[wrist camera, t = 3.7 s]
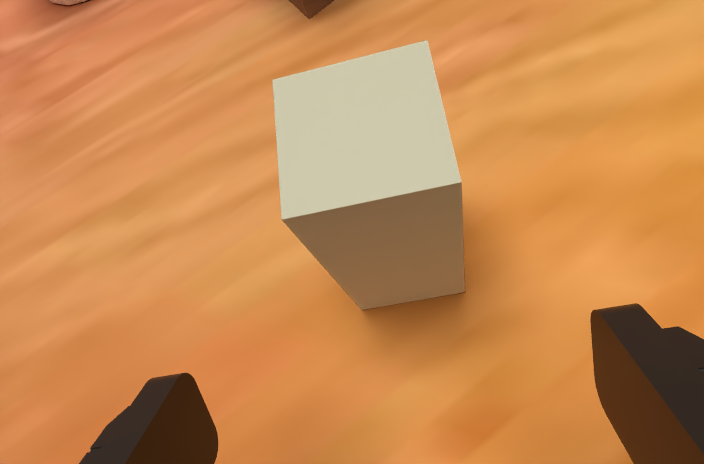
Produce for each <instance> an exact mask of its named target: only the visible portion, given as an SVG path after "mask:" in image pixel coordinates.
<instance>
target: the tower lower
mask: <svg viewBox="0 0 704 464" xmlns="http://www.w3.org/2000/svg"><path fill="white" fill-rule="evenodd" d="M289 1H290V2H291V3H292V4H293V5H295V6H296V7H297V8H298V9H299V10H300V11H301V12H302V13H303V14H304V15H305V16H307V17H308V18H309V19H310V18H311V17H313V16H314V15H315V14H317V13H318V12H319V11H321V10H322V9H323V8H325V7H326V6H327V5H329V4H330V3H331V2H333V1H334V0H289Z"/></svg>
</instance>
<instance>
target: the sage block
mask: <svg viewBox="0 0 704 464" xmlns="http://www.w3.org/2000/svg"><path fill="white" fill-rule="evenodd" d="M273 93H274V108H275V124H276V139H277V154H278V170H279V185H280V200H281V216H282V220H283V222H284V223H285V224H286V225H287V226H288V227H289V228H290V230H291V231H292V232H293V233H294V234H295V235H296V236H297V237H298V239H299V240H300V241H301V242H302V243H303V244H304V245H305V247H306V248H307V249H308V250H309V251H310V252H311V253H312V254H313V256H314V257H315V258H316V259H317V260H318V261H319V262H320V264H321V265H322V266H323V267H324V268H325V269H326V270H327V271H328V273H329V274H330V275H331V276H332V277H333V278H334V279H335V281H336V282H337V283H338V284H339V285H340V286H341V287H342V288H343V290H344V291H345V292H346V293H347V294H348V295H349V296H350V298H351V299H352V300H353V301H354V302H355V303H356V304H357V306H358V307H359V308H360V309H361V310H365V309H371V308H377V307H383V306H388V305H394V304H400V303H406V302H411V301H417V300H423V299H429V298H435V297H440V296H446V295H452V294H458V293H463V292H465V275H464V245H463V215H462V185H461V178H460V174H459V170H458V166H457V162H456V158H455V153H454V149H453V145H452V141H451V137H450V132H449V128H448V124H447V120H446V116H445V112H444V107H443V103H442V99H441V95H440V91H439V87H438V82H437V78H436V74H435V70H434V66H433V61H432V57H431V53H430V49H429V45H428V41H427V40H426V41H422V42H418V43H414V44H410V45H406V46H402V47H398V48H395V49H391V50H387V51H383V52H379V53H375V54H371V55H367V56H363V57H359V58H356V59H352V60H348V61H344V62H340V63H336V64H332V65H328V66H324V67H320V68H317V69H313V70H309V71H305V72H301V73H297V74H293V75H289V76H285V77H281V78H278V79H274V80H273Z"/></svg>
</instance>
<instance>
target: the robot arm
mask: <svg viewBox="0 0 704 464" xmlns="http://www.w3.org/2000/svg"><path fill="white" fill-rule="evenodd" d="M591 334H592V348H593V362H594V376H595V383H596V388H597V392H598V396H599V399H600V402H601V404H602V407H603V409H604V411H605V413H606V415H607V417H608V419H609V420H610V422H611V424H612V426H613V428H614V429H615V431H616V433H617V435H618V436H619V438H620V440H621V442H622V444H623V445H624V447H625V449H626V451H627V452H628V454H629V456H630V458H631V460H632V461H633V463H634V464H704V339H702V338H700V337H698V336H696V335H694V334H692V333H690V332H688V331H686V330H684V329H682V328H680V327H671V328H664V329H662V328H661V327H660V326H659V325H658V324H657V323H656V322H655V321H654V319H653V318H652V317H651V316H650V315H649V314H648V313H647V312H646V311H645V310H644V309H643V307H641V306H640V305H639V304H630V305H623V306H617V307H610V308H604V309H598V310H593V311H592V313H591ZM90 449H91V451H90V452H88V453H87V454H86V455H85V456H84V458H83V459H82V460H81V462H80V463H79V464H214V463H215V460H216V457H217V452H218V436H217V431H216V428H215V425H214V423H213V420H212V418H211V416H210V414H209V411H208V409H207V407H206V404H205V402H204V400H203V398H202V395H201V393H200V391H199V388H198V386H197V384H196V382H195V380H194V378H193V377H192V376H191V375H190V374H189V373H181V374H175V375H168V376H162V377H156V378H152V379H150V380H149V381H148V382H147V383H146V384H145V385H144V387H143V388H142V390H141V391H140V393H139V394H138V396H137V397H136V398H135V400H134V401H133V403H132V404H131V406H128V407H127V408H126V409H125V410H124V411H123V412H122V413H120V414H119V415H118V416H117V417H116V418H115V419H114V420H113V421H112V422H110V423H109V424H108V425H107V426H106V427H105V429H104V430H103V431H102V433H101V434H100V436H99V437H98V438H97V440H96V441H95V442H94V444H93V445H92V447H91V448H90Z"/></svg>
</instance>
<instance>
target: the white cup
mask: <svg viewBox="0 0 704 464" xmlns="http://www.w3.org/2000/svg"><path fill="white" fill-rule="evenodd" d="M50 1H51V2H52V3H56V4H63V5H72V4H76V3H80V2H84V1H87V0H50Z"/></svg>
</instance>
